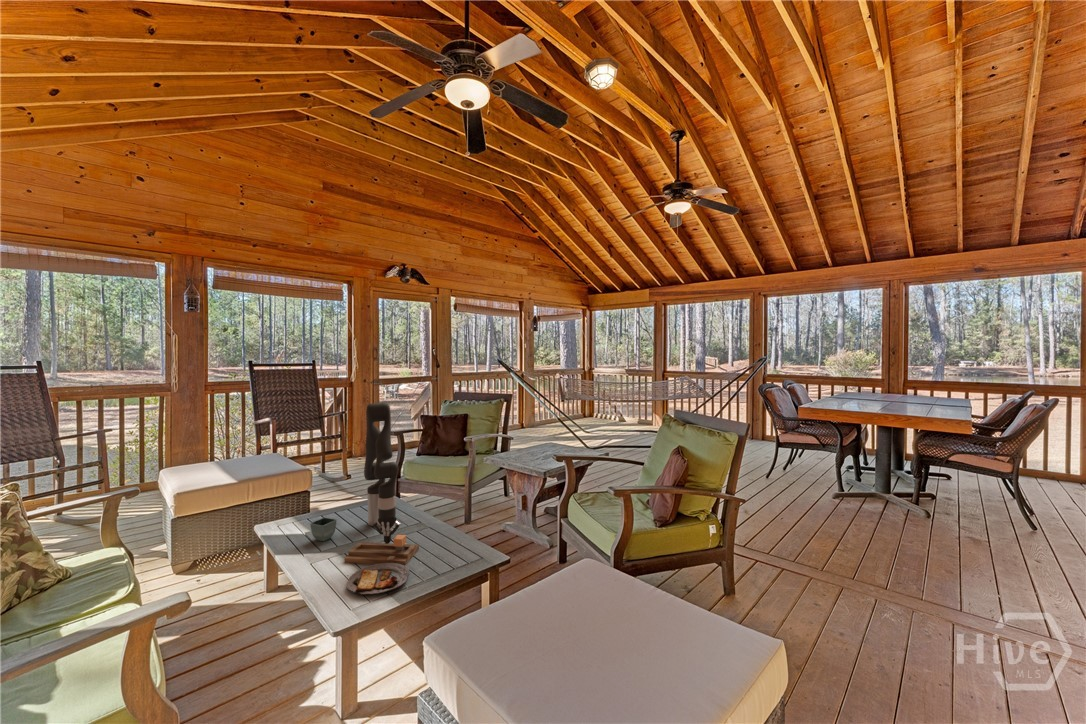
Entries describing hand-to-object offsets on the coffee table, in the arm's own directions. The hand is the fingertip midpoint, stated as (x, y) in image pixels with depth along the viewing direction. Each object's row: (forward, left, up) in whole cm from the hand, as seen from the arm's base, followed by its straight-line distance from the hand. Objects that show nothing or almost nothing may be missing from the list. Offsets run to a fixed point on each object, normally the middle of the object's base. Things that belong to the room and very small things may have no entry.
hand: (387, 542), depth 204 cm
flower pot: (-14, -40, -6) cm, 43 cm away
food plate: (+22, +7, -6) cm, 24 cm away
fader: (0, +6, -4) cm, 7 cm away
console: (0, -2, -6) cm, 6 cm away
